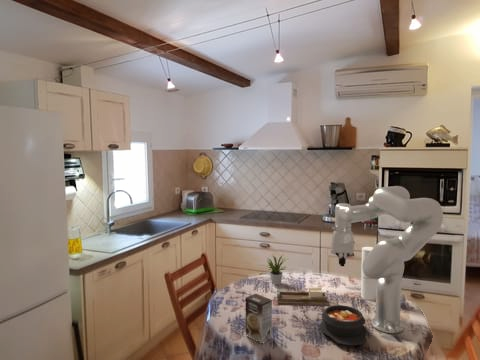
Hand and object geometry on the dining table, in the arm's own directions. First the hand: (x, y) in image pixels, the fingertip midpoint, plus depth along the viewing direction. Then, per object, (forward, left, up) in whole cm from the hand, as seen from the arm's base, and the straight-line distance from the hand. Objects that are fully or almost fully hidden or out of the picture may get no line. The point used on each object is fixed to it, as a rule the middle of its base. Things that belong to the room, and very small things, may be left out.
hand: (341, 265), depth 171 cm
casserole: (-31, +5, -18) cm, 36 cm away
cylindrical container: (+5, -14, -18) cm, 23 cm away
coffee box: (-36, +40, -18) cm, 57 cm away
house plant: (+21, +31, -18) cm, 41 cm away
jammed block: (0, +13, -17) cm, 21 cm away
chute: (0, +20, -18) cm, 27 cm away
